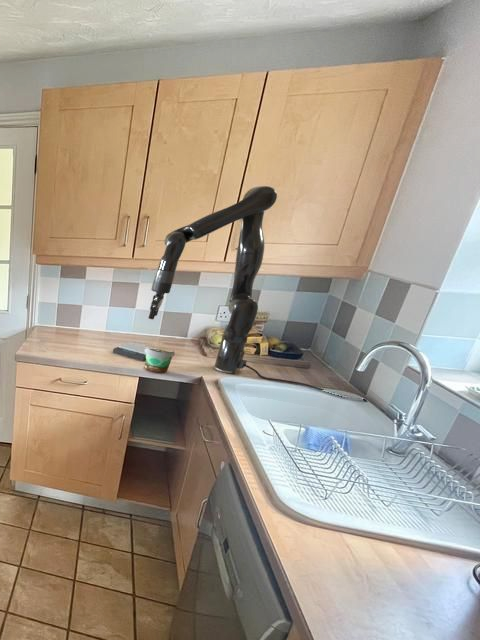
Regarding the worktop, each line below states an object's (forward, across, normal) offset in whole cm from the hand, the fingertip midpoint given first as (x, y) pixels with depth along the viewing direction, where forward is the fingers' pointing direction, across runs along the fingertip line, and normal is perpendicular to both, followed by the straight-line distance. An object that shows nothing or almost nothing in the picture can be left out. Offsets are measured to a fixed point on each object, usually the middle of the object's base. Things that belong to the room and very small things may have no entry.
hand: (152, 317), depth 185 cm
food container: (+22, -7, -8) cm, 25 cm away
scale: (+22, +14, +4) cm, 26 cm away
